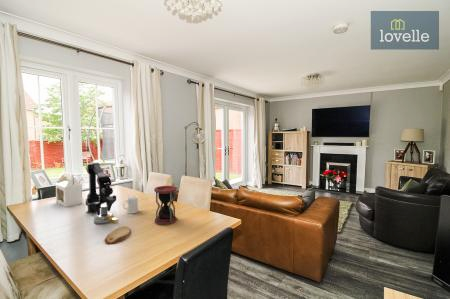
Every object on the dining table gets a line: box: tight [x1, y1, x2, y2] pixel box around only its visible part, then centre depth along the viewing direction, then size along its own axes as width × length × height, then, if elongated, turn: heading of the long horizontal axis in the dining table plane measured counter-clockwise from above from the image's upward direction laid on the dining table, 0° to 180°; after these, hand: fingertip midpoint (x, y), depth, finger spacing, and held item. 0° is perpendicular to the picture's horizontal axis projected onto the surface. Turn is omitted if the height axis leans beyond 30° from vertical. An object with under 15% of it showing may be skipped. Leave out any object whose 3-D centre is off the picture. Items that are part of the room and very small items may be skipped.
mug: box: [122, 195, 139, 214], centre depth 179 cm, size 12×8×12 cm
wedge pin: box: [100, 204, 109, 216], centre depth 160 cm, size 4×4×9 cm
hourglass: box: [154, 185, 178, 226], centre depth 161 cm, size 16×16×25 cm
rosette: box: [93, 212, 119, 225], centre depth 160 cm, size 18×13×4 cm
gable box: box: [55, 171, 83, 208], centre depth 199 cm, size 22×13×28 cm, turn 55°
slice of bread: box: [104, 225, 132, 245], centre depth 137 cm, size 18×18×4 cm
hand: (104, 213), depth 160 cm, fingers open, 9 cm apart
